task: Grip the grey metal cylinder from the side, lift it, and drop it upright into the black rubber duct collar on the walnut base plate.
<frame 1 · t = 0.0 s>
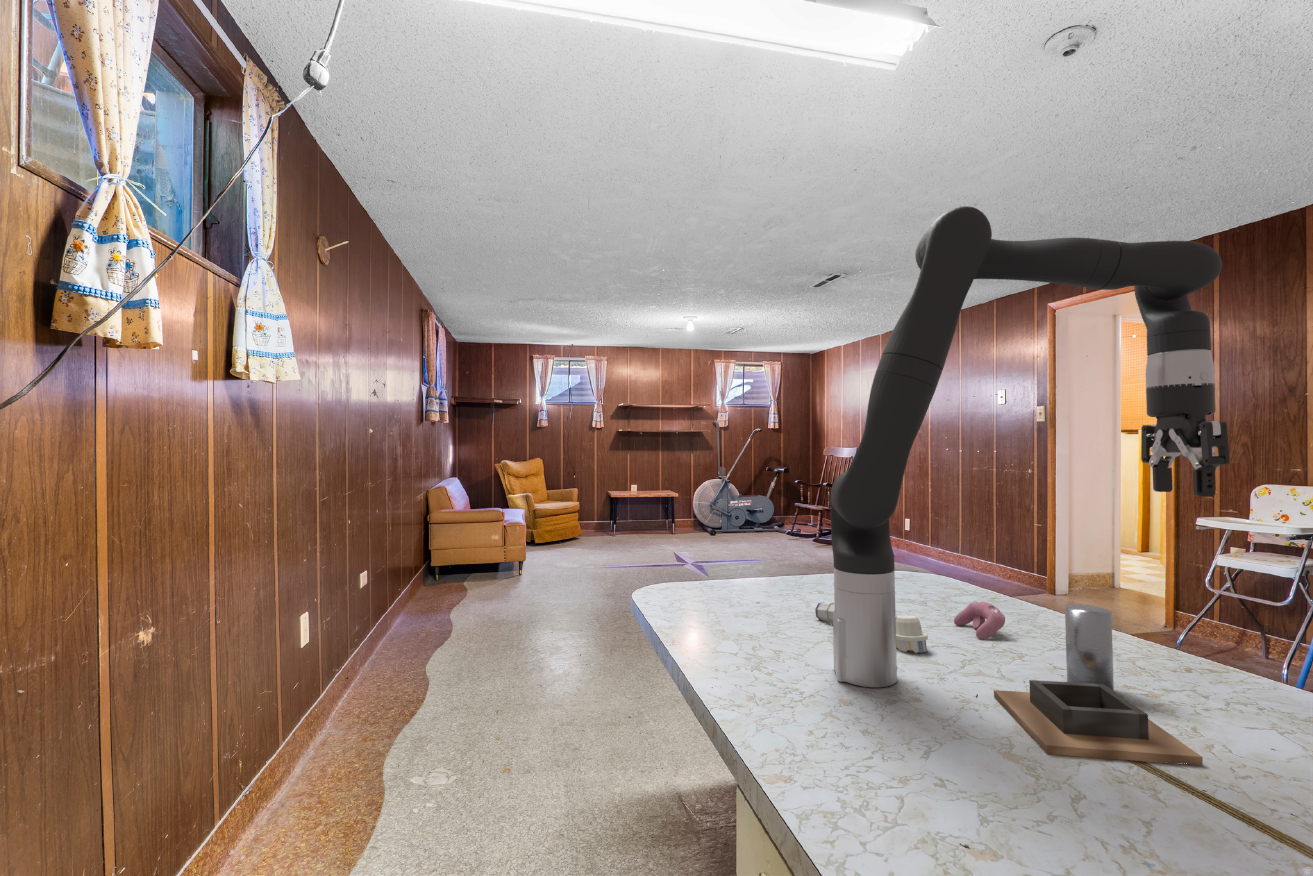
hand: (1182, 493, 85), 29 cm above the table, tool pointing down, fingers open, 8 cm apart
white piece: (868, 637, 113), on the table
grey metal cylinder: (1090, 689, 86), on the table
video game controller: (979, 633, 114), on the table
duct collar: (1085, 727, 75), on the table
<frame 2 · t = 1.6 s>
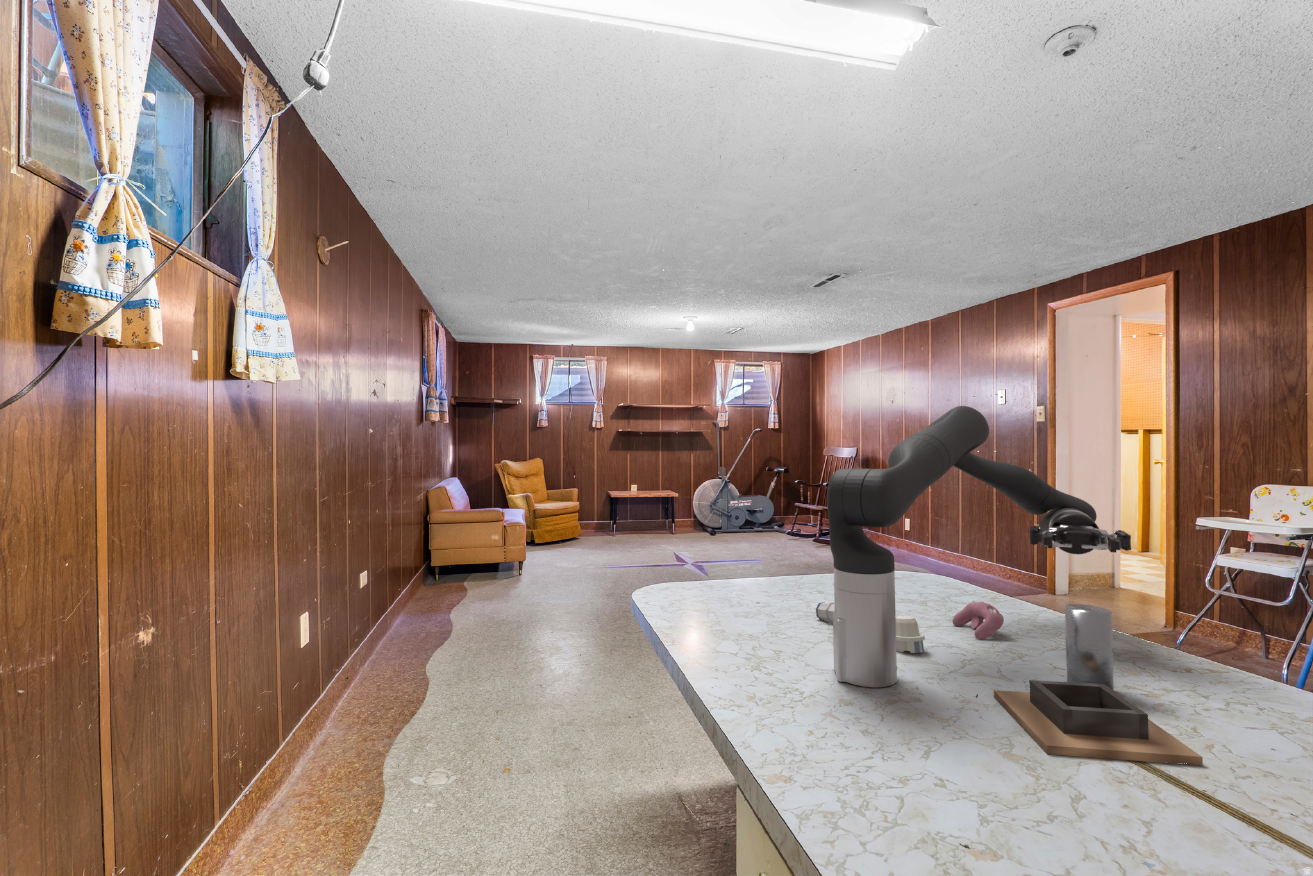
hand: (1081, 544, 96), 20 cm above the table, tool horizontal, fingers open, 8 cm apart
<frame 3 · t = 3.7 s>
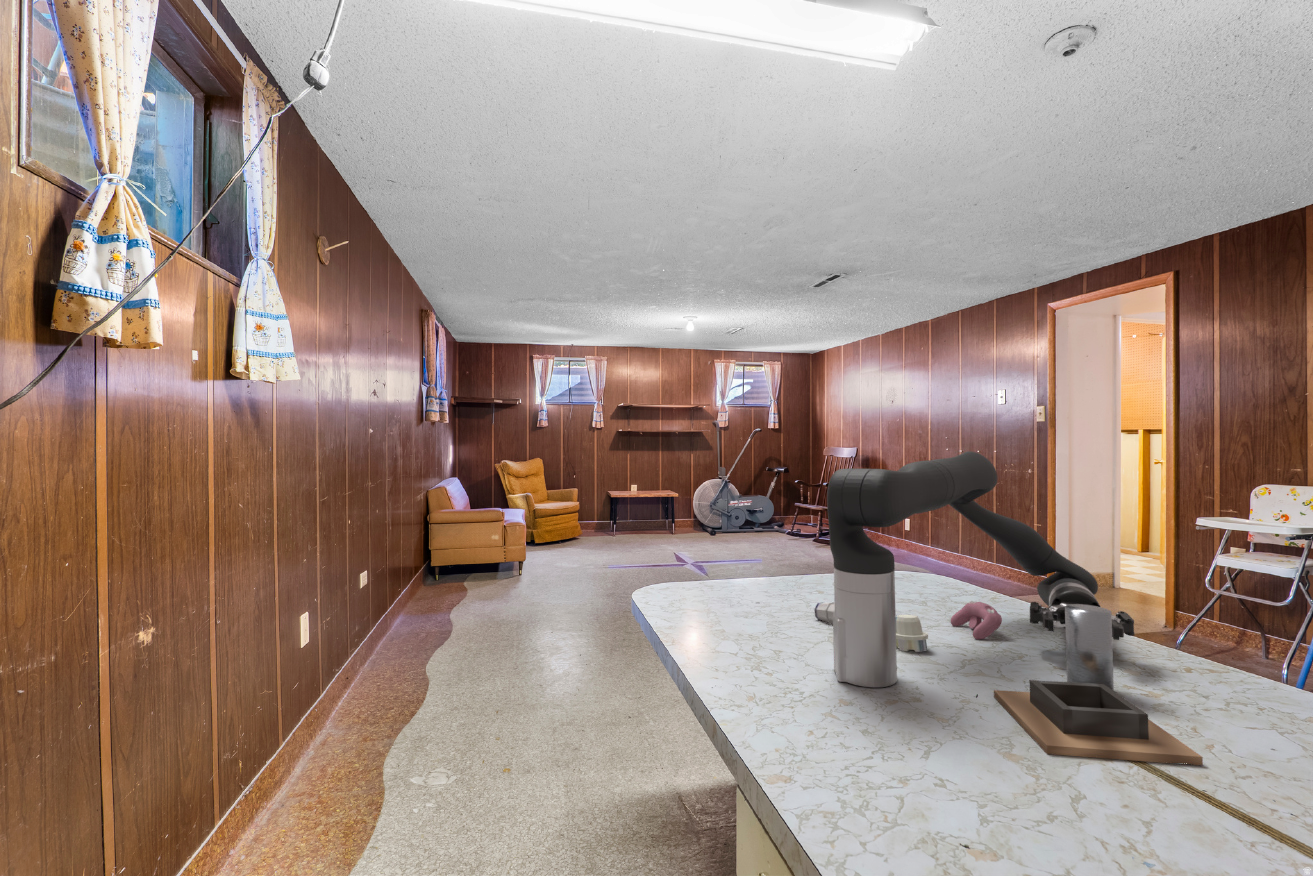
hand: (1083, 629, 93), 7 cm above the table, tool horizontal, fingers open, 8 cm apart
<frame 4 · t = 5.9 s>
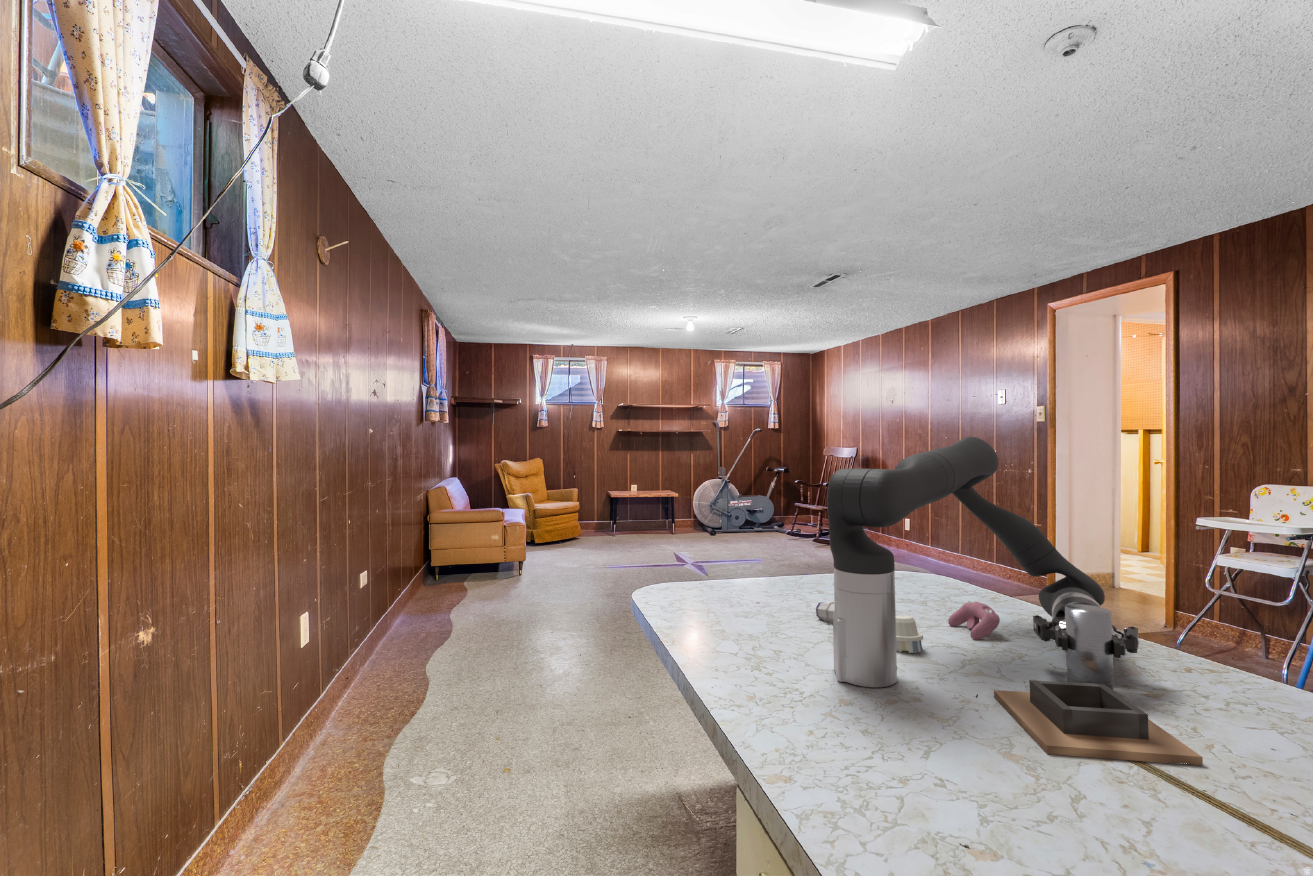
hand: (1090, 647, 84), 7 cm above the table, tool horizontal, fingers closed on grey metal cylinder, 5 cm apart
grey metal cylinder: (1090, 689, 86), on the table, touching gripper
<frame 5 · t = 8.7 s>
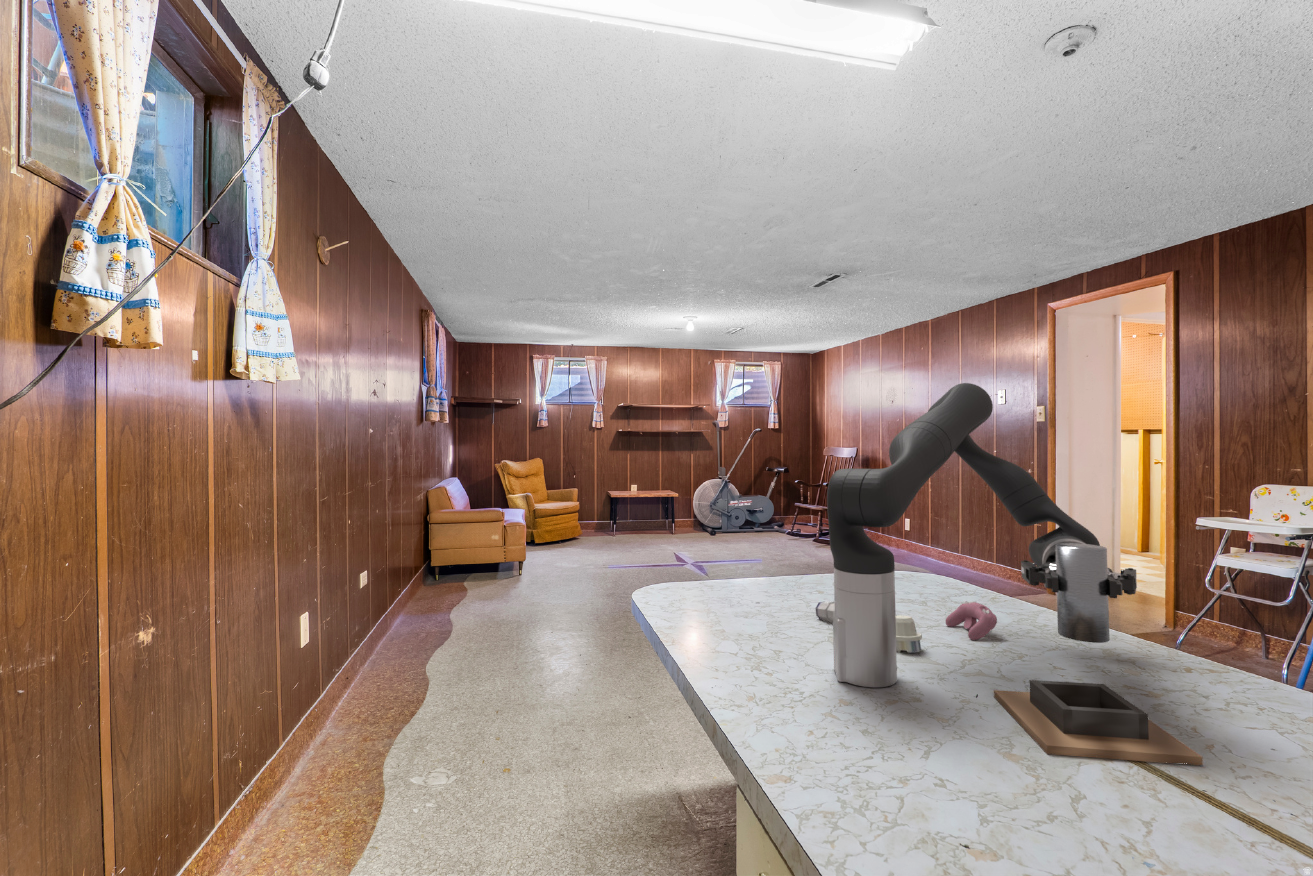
hand: (1083, 587, 76), 18 cm above the table, tool horizontal, fingers closed on grey metal cylinder, 5 cm apart
grey metal cylinder: (1083, 635, 78), point 11 cm above the table, touching gripper
when the fingers open (9 cm above the table, at t = 11.6 s): grey metal cylinder drops 1 cm, resting on duct collar.
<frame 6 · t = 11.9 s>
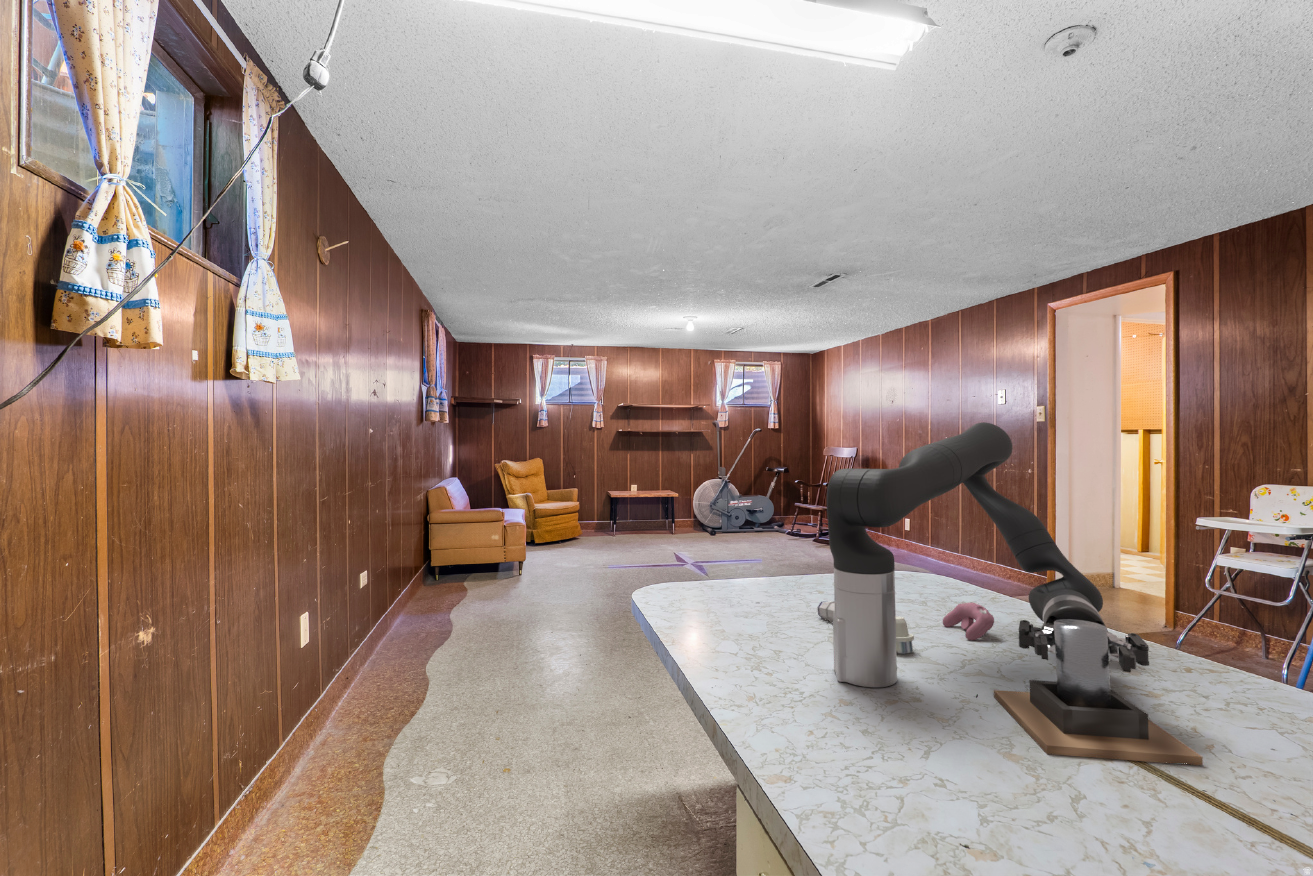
hand: (1084, 657, 73), 10 cm above the table, tool horizontal, fingers open, 8 cm apart
grey metal cylinder: (1084, 718, 75), point 1 cm above the table, touching duct collar
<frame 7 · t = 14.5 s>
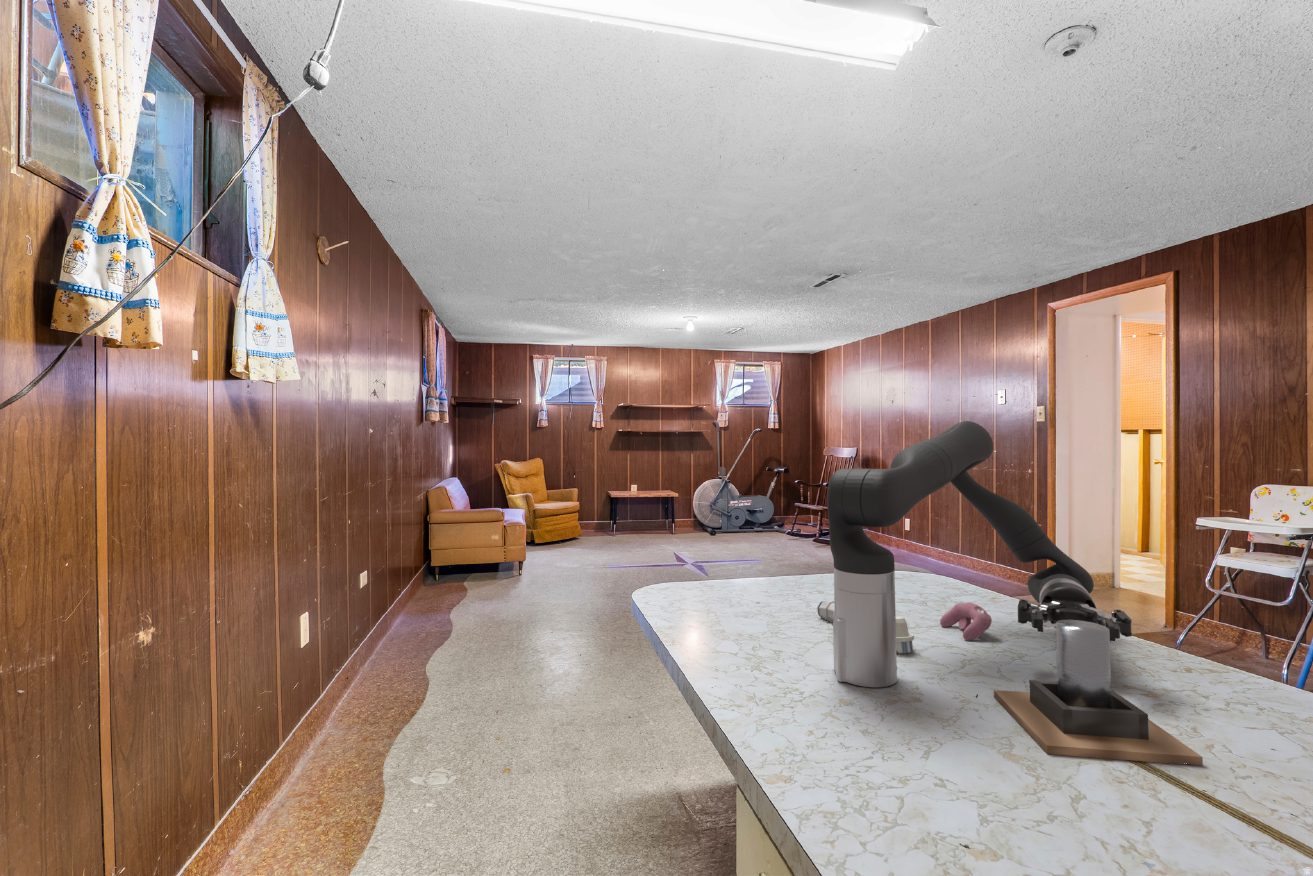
hand: (1075, 629, 84), 10 cm above the table, tool horizontal, fingers open, 8 cm apart
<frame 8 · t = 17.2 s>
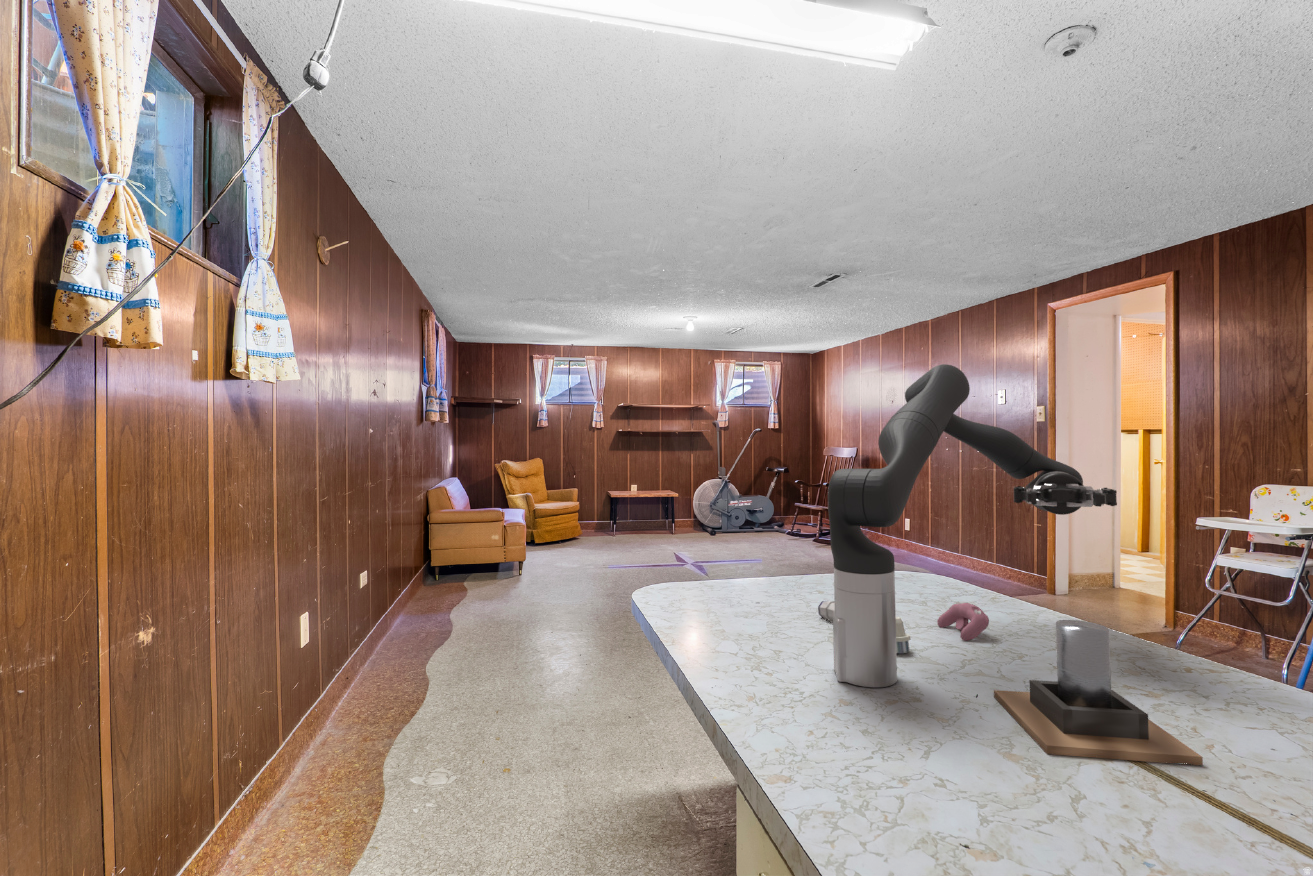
hand: (1065, 498, 93), 28 cm above the table, tool horizontal, fingers open, 8 cm apart
at the end: grey metal cylinder 0.1 cm off-centre on the duct collar, point 1.0 cm above the duct collar's base; grey metal cylinder tilted 0°; the gripper is holding nothing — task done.
